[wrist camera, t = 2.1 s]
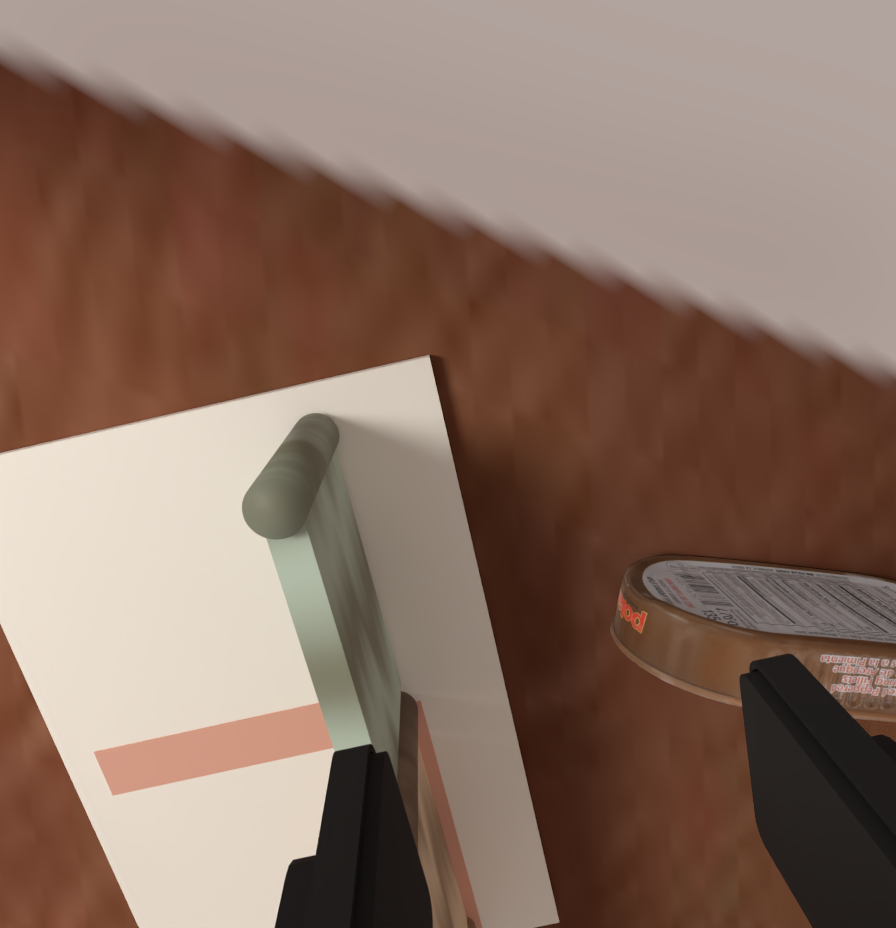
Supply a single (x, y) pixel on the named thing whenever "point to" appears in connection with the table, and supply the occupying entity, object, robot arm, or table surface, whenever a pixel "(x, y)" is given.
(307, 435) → the swing panel
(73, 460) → the card
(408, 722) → the fixed fence
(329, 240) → the table surface
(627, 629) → the tin
